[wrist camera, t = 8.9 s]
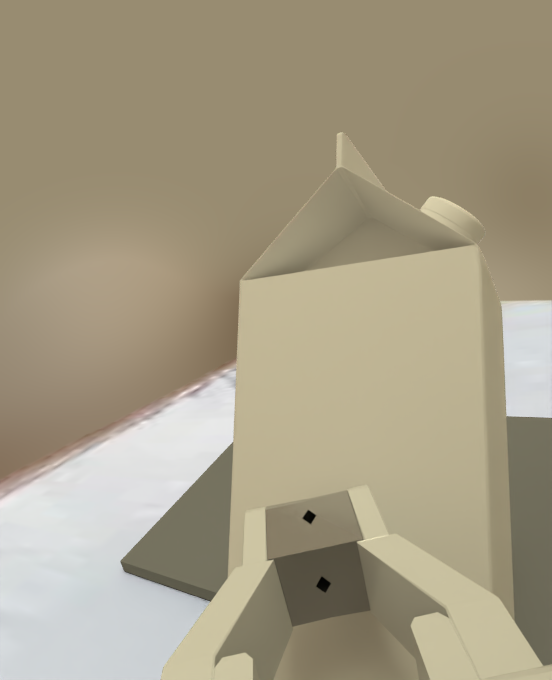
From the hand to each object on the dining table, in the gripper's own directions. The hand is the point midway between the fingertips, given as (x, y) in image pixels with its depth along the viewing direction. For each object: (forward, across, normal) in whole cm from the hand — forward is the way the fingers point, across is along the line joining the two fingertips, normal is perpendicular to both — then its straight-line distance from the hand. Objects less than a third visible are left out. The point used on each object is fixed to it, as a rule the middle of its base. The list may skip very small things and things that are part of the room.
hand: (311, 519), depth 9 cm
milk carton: (0, 0, +10) cm, 10 cm away
